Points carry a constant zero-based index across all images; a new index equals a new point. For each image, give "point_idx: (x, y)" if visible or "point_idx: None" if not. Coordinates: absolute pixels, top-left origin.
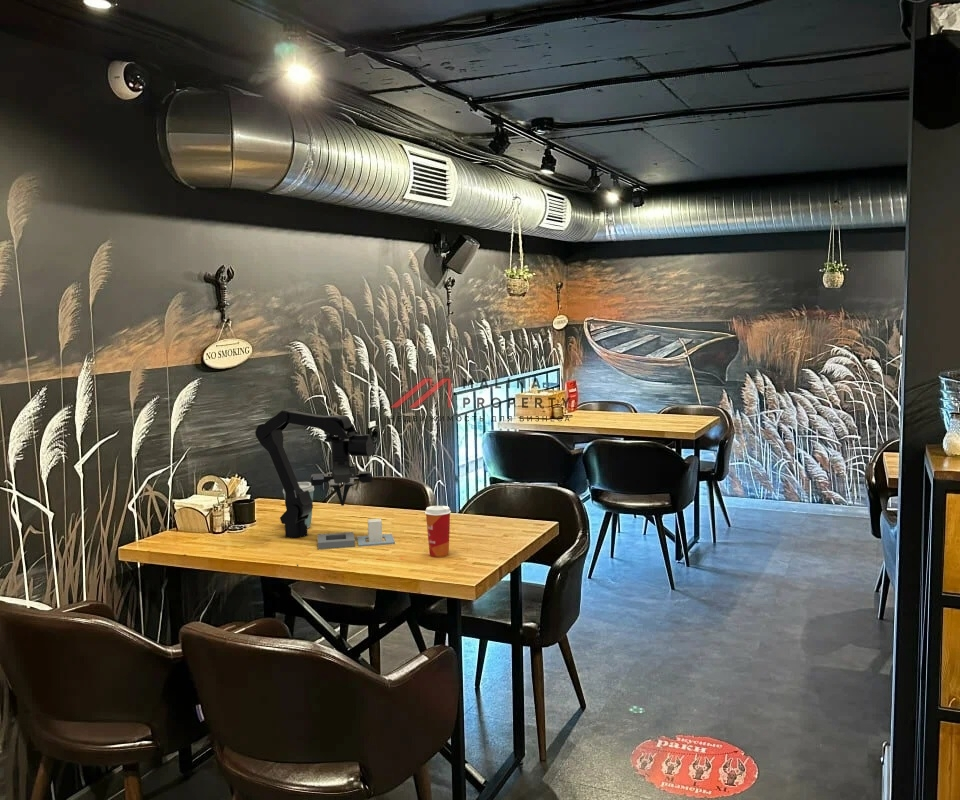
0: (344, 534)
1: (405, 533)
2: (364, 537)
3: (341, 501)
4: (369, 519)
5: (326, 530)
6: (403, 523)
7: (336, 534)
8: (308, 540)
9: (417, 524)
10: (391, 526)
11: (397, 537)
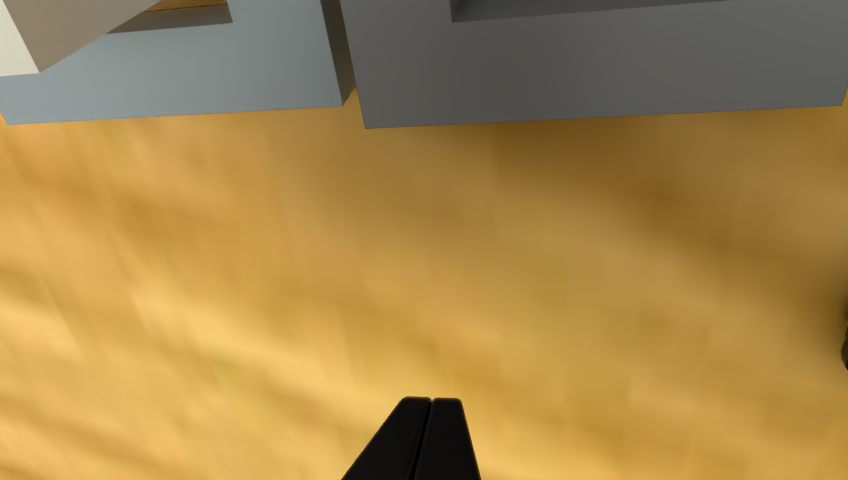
0: (466, 22)
1: (31, 273)
2: (243, 32)
3: (439, 473)
4: (4, 57)
5: (632, 475)
6: (145, 474)
7: (577, 36)
8: (844, 266)
9: (51, 437)
10: (196, 442)
11: (40, 178)
